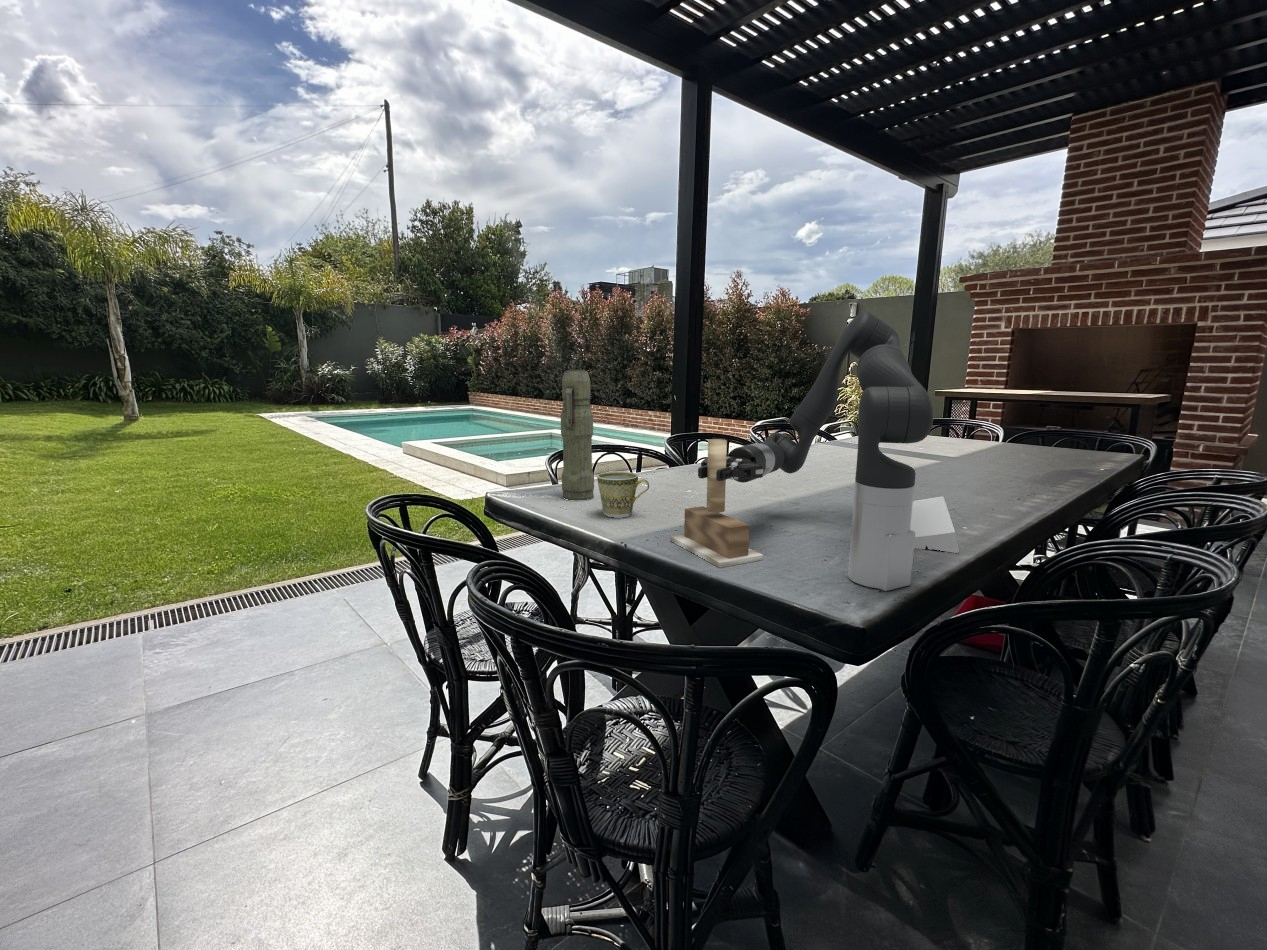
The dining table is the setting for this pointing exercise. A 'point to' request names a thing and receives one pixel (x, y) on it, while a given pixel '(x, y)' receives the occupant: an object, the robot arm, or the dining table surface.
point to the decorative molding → (933, 525)
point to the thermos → (577, 436)
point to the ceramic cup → (618, 492)
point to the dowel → (714, 487)
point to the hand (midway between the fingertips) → (709, 474)
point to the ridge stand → (716, 538)
